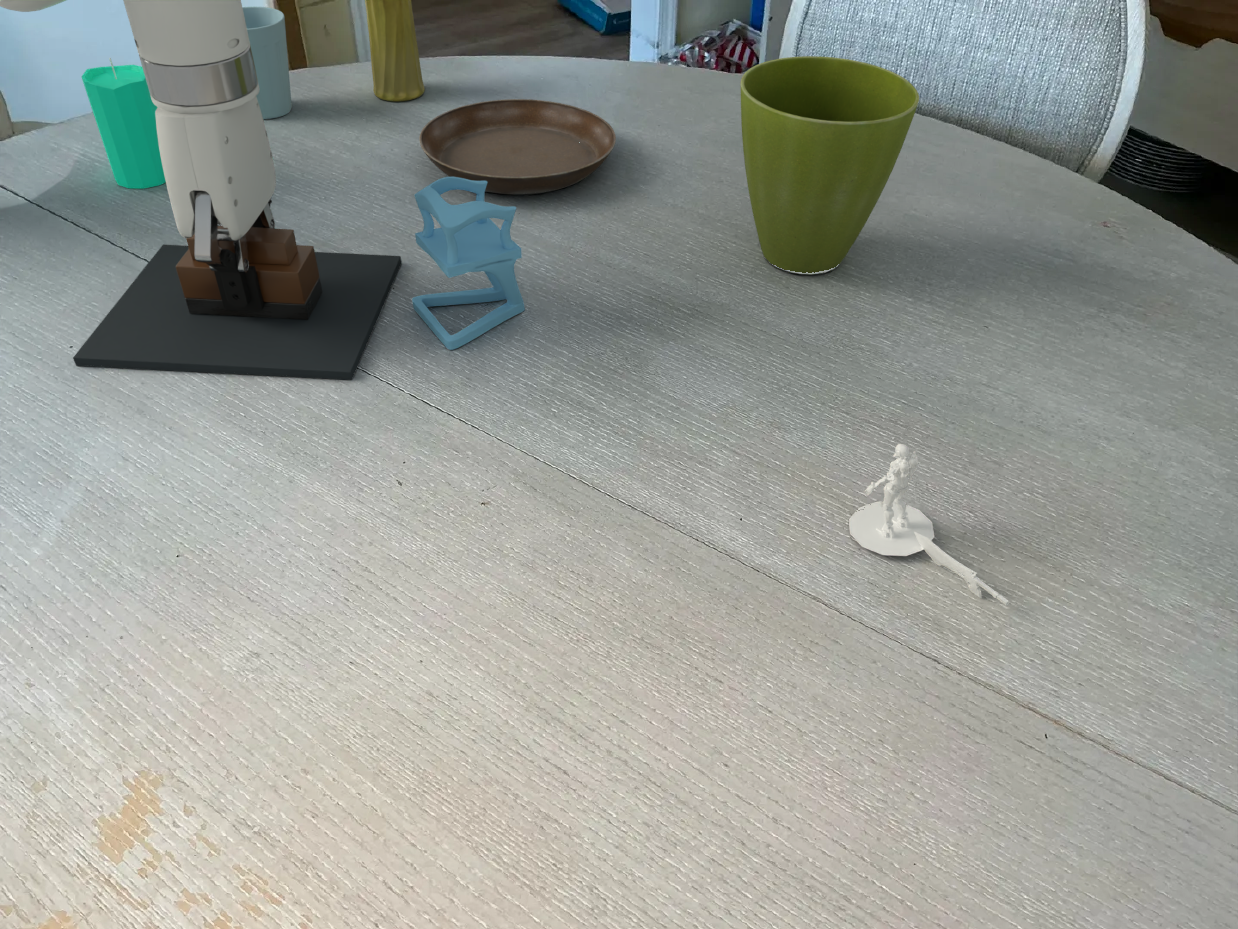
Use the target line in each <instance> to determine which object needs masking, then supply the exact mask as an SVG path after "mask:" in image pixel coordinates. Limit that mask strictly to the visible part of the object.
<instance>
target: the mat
mask: <svg viewBox="0 0 1238 929" xmlns="http://www.w3.org/2000/svg"><path fill="white" fill-rule="evenodd" d="M188 249H189V247H188V245H184V244H183V245H181V244H161V246H160V248H159V249H158V250H157V251H156V252H155V254H154V255H153V257H151V258H150V260H149V261H148V263H147V264H146V265H145V267H144V268H143V269H142V270H141V271H140V273H139V274H138V275H137V276H136V278H135V279H134V280H133V281H132V283H131V284H130V285H129V286H128V287H127V289H126V291H125V292H124V293H123V294H122V296H121V297H120V298H119V299H118V301H117V302H116V303H115V304H114V305H113V307H112V308H111V309H110V310H109V312H108V313H107V314H106V316H105V317H104V318H103V319H102V321H101V322H100V323H99V324H98V326H97V327H95V329H94V331H93V332H92V333H91V334H90V335H89V337H88V338H87V339H86V341H85V342H84V343H83V344H82V345H81V347H80V348H79V349H78V351H77V352H76V353H75V354H74V356H73V357H72V360H73V362H74V365H75V366H76V367H93V368H94V367H95V368H111V369H112V368H114V369H115V368H116V369H134V370H151V371H152V370H154V371H172V372H190V373H191V372H192V373H209V374H230V375H248V376H249V375H251V376H269V377H285V378H286V377H289V378H308V379H309V378H310V379H327V380H347V381H352V380H353V379H354V376H355V374H356V372H357V369H358V367H359V365H360V362H361V360H362V357H363V355H364V352H365V350H366V348H367V346H368V344H369V341H370V338H371V337H372V334H373V331H374V329H375V327H376V324H377V322H378V320H379V318H380V315H381V313H382V310H383V308H384V306H385V303H386V300H387V299H388V297H389V294H390V292H391V289H392V287H393V285H394V282H395V280H396V279H397V278H396V277H397V275H398V273H399V271H400V269H401V267H402V266H401V265H402V256H401V255H387V254H370V253H369V254H367V253H348V252H346V253H345V252H329V251H328V252H327V251H315V256H316V262H317V267H318V272H319V277H320V282H321V287H322V294H321V296H320V298H319V300H318V302H317V303H316V305H315V307H314V309H313V311H312V313H311V315H310V317H309V319H308V320H302V319H283V318H264V317H246V316H227V315H208V314H190V313H189V310H188V307H187V303H186V300H185V296H184V293H183V290H182V286H181V283H180V280H179V276H178V273H177V270H176V265H177V264H178V262H179V261H180V260H181V258H182V257H183V256H184V254H185V253H186V252H187V251H188Z"/></svg>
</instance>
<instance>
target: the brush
mask: <svg viewBox="0 0 1238 929" xmlns="http://www.w3.org/2000/svg"><path fill="white" fill-rule="evenodd" d="M218 229H223V230H228V228H224V227H223V226H222V225H218ZM245 237H246V244H247V251H248V258H249V266H255V269H256V273H257V277H258V281H259V286H260V290H261V294H262V298H263V302H264V308H263V309H262V311H261V312H249V311H230V310H226V309H225V308H224V306H223V302H222V299H221V295H220V291H219V288H218V284H217V281H216V277H215V273H214V271H211V269H210V267H209V265H208V264H206V263H202V262H198V261H196V259H195V254H194V250H195V234H194V235H193V236H192V237H190V238H185V239H186V243H187V246H188V247H189V249H188V251H187V252H186V253H185V254H184V256H183V257H182V258H181V260H180V261H179V262H178V264H177V265H176V270H177V273H178V276H179V280H180V283H181V286H182V290H183V293H184V296H185V300H186V303H187V307H188V310H189V313H190V314H208V315H227V316H246V317H264V318H283V319H302V320H308V319H309V317H310V315H311V313H312V311H313V309H314V307H315V305H316V303H317V302H318V300H319V298H320V296H321V294H322V287H321V282H320V277H319V272H318V267H317V262H316V256H315V252H316V251H315V247H314V245H307V244H306V245H305V244H303V245H302V244H297V240H296V235H295V230H294V228H276V227H275V228H257V227H251V228H250V229H249V230H248V232H247V233H246V234H245ZM219 247H220V248H222V249H228V250H230V251H232V252H233V253H235V249H234V241H219Z"/></svg>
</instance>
